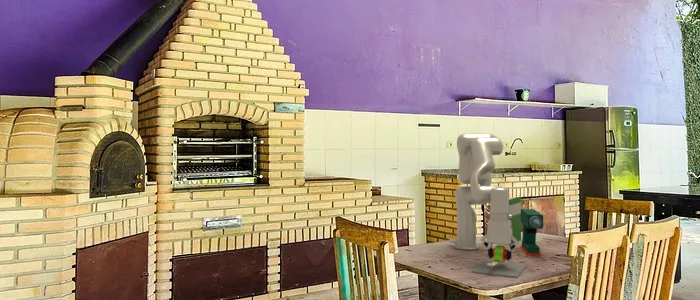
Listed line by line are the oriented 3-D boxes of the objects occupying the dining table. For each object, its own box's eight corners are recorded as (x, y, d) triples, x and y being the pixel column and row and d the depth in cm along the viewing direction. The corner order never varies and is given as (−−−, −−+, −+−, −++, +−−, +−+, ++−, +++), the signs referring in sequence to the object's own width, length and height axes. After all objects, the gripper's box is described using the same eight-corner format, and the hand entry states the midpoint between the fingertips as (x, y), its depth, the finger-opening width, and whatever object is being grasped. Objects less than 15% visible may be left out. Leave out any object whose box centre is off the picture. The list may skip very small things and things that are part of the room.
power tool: (548, 262, 210) (548, 218, 210) (531, 262, 211) (531, 217, 211) (535, 248, 241) (534, 209, 241) (520, 247, 243) (520, 208, 243)
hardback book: (507, 238, 267) (507, 196, 267) (521, 240, 263) (520, 197, 263) (496, 243, 253) (496, 198, 253) (509, 245, 249) (509, 199, 249)
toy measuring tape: (512, 259, 203) (512, 244, 203) (497, 268, 188) (496, 252, 188) (498, 257, 207) (498, 242, 207) (481, 266, 192) (481, 250, 192)
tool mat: (471, 272, 194) (471, 270, 194) (484, 261, 213) (484, 259, 213) (517, 278, 185) (517, 276, 185) (526, 265, 204) (526, 264, 204)
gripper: (522, 217, 198) (522, 259, 198) (481, 214, 207) (481, 255, 207) (519, 219, 192) (519, 263, 192) (476, 216, 200) (476, 258, 200)
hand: (499, 258), depth 199 cm, fingers closed on toy measuring tape, 6 cm apart
